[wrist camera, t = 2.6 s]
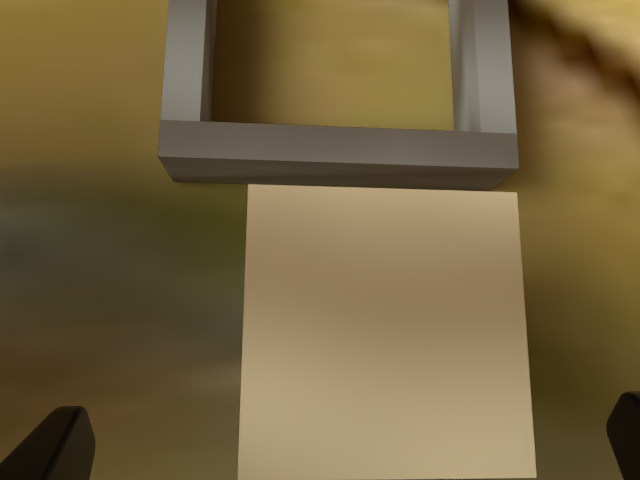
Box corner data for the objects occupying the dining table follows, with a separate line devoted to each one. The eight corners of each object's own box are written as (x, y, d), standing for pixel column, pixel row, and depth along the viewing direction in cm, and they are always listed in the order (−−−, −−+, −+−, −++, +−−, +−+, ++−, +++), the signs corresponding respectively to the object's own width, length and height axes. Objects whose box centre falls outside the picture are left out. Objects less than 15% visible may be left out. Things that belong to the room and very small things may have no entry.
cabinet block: (408, 431, 18) (538, 516, 9) (257, 431, 17) (235, 520, 8) (404, 264, 19) (517, 192, 10) (262, 261, 18) (247, 184, 10)
